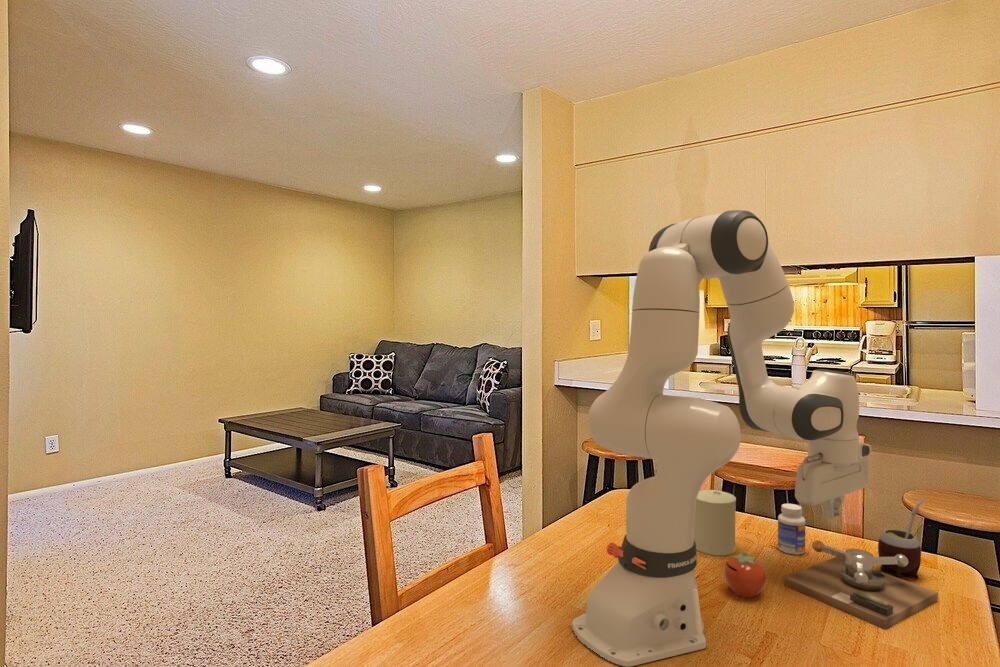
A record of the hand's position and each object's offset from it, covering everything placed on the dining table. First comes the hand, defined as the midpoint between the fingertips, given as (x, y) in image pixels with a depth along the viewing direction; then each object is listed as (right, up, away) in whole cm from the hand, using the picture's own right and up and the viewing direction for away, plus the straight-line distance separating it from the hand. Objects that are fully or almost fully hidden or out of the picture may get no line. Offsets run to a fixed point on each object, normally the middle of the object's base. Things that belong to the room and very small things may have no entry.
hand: (832, 517), depth 117 cm
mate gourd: (+13, -11, -1) cm, 17 cm away
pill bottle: (-3, -11, +10) cm, 15 cm away
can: (-19, -11, +12) cm, 25 cm away
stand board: (0, -11, -9) cm, 14 cm away
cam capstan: (-1, -9, -7) cm, 12 cm away
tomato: (-21, -12, -8) cm, 26 cm away
